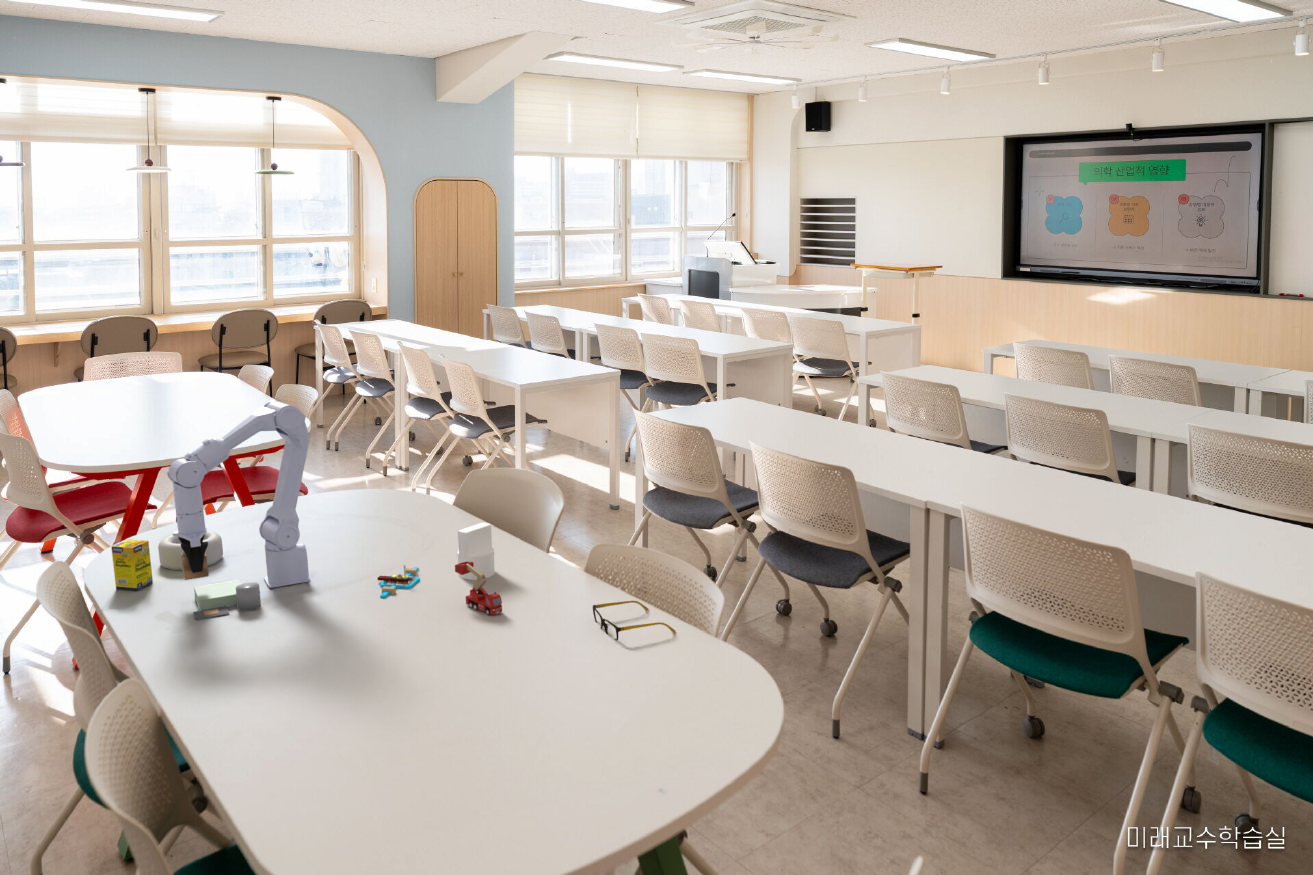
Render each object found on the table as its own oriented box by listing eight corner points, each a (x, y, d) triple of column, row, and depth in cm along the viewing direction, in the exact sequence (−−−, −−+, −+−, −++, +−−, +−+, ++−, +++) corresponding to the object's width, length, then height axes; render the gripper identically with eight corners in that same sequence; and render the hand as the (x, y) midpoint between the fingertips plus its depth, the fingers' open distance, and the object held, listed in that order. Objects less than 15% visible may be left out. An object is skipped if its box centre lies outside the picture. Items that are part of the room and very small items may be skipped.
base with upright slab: (476, 565, 265) (474, 520, 262) (502, 572, 260) (500, 526, 257) (450, 574, 258) (448, 528, 255) (476, 582, 253) (474, 535, 250)
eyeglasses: (589, 621, 229) (588, 604, 229) (648, 611, 236) (648, 594, 235) (614, 645, 217) (614, 627, 216) (676, 633, 223) (676, 616, 222)
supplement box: (137, 591, 247) (132, 547, 245) (115, 589, 248) (110, 546, 246) (154, 582, 253) (149, 540, 250) (132, 581, 254) (127, 538, 251)
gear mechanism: (360, 598, 244) (398, 601, 242) (359, 576, 242) (397, 579, 241) (396, 570, 263) (431, 572, 261) (395, 549, 262) (430, 551, 260)
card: (226, 607, 237) (226, 605, 237) (229, 614, 233) (229, 612, 233) (193, 612, 234) (193, 611, 234) (195, 620, 229) (195, 618, 229)
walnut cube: (206, 569, 242) (204, 549, 241) (208, 576, 238) (206, 555, 237) (183, 573, 240) (180, 552, 239) (185, 580, 235) (182, 559, 234)
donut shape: (147, 570, 262) (144, 544, 261) (183, 551, 277) (180, 527, 275) (201, 573, 260) (199, 547, 258) (235, 554, 274) (232, 530, 273)
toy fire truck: (492, 617, 231) (491, 576, 229) (455, 601, 240) (454, 562, 238) (504, 613, 233) (503, 572, 231) (467, 598, 242) (465, 558, 240)
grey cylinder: (260, 601, 240) (258, 581, 239) (261, 609, 236) (259, 588, 235) (237, 605, 238) (235, 584, 237) (237, 612, 234) (235, 591, 233)
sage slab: (240, 591, 248) (239, 579, 248) (247, 604, 240) (246, 592, 239) (195, 598, 243) (193, 586, 243) (200, 612, 235) (199, 600, 234)
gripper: (167, 506, 240) (174, 561, 243) (173, 522, 227) (179, 580, 230) (200, 501, 243) (206, 556, 246) (207, 517, 231) (214, 575, 234)
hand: (196, 568), depth 238 cm, fingers closed on walnut cube, 5 cm apart
